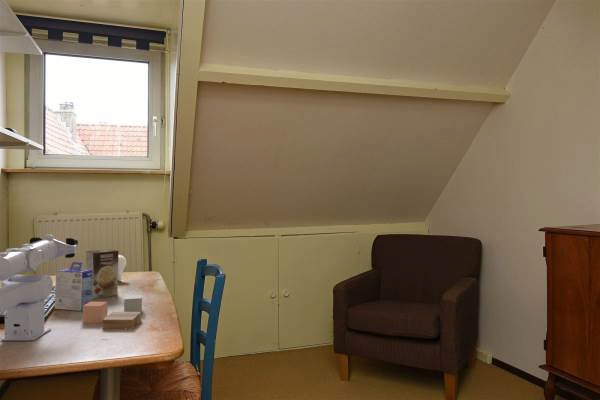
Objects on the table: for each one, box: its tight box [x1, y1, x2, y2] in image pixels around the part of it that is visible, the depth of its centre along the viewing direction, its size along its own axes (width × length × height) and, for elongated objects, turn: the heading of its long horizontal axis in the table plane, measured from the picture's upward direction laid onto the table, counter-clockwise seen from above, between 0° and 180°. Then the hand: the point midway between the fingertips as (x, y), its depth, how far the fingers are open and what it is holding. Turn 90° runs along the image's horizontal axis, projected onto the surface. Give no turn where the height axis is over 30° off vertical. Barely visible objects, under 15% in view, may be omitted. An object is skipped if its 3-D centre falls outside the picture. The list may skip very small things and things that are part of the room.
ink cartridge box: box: [54, 261, 93, 312], centre depth 147 cm, size 10×6×14 cm, turn 78°
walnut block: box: [102, 311, 142, 330], centre depth 130 cm, size 8×8×3 cm
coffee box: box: [85, 249, 120, 300], centre depth 165 cm, size 9×6×16 cm
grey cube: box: [123, 294, 143, 315], centre depth 143 cm, size 5×5×5 cm
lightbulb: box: [118, 254, 127, 283], centre depth 191 cm, size 6×6×11 cm
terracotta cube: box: [82, 301, 108, 324], centre depth 133 cm, size 5×5×5 cm
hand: (63, 243), depth 139 cm, fingers open, 7 cm apart
